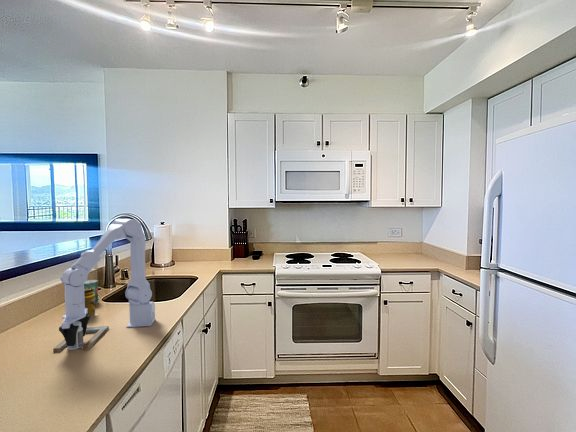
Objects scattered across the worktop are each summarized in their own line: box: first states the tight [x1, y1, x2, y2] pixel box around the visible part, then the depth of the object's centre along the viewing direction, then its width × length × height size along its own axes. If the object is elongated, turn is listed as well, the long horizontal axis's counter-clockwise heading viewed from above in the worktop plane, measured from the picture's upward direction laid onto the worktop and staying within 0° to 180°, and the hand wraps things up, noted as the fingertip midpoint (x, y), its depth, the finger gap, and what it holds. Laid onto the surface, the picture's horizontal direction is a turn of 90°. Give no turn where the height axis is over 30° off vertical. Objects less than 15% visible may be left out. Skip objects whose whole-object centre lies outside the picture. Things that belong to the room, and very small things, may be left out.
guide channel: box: [52, 329, 107, 353], centre depth 118 cm, size 11×15×1 cm
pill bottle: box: [66, 321, 84, 351], centre depth 114 cm, size 5×5×8 cm
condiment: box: [84, 288, 100, 318], centre depth 143 cm, size 7×8×12 cm
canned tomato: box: [84, 279, 99, 305], centre depth 161 cm, size 8×8×11 cm
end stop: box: [85, 325, 109, 334], centre depth 127 cm, size 11×3×1 cm, turn 99°
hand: (76, 340), depth 115 cm, fingers open, 7 cm apart
